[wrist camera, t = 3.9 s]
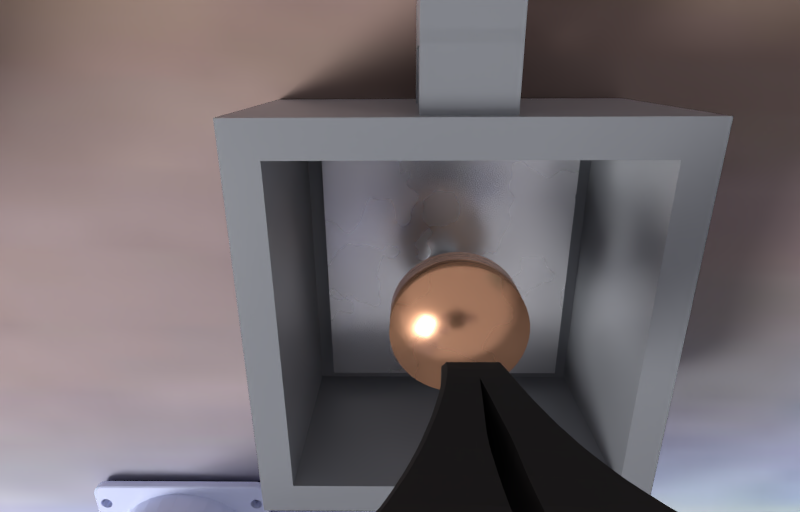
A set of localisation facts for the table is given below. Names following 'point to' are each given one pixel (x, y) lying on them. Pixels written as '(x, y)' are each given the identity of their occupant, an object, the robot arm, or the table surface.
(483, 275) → the plunger
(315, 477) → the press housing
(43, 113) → the table surface
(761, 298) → the table surface
